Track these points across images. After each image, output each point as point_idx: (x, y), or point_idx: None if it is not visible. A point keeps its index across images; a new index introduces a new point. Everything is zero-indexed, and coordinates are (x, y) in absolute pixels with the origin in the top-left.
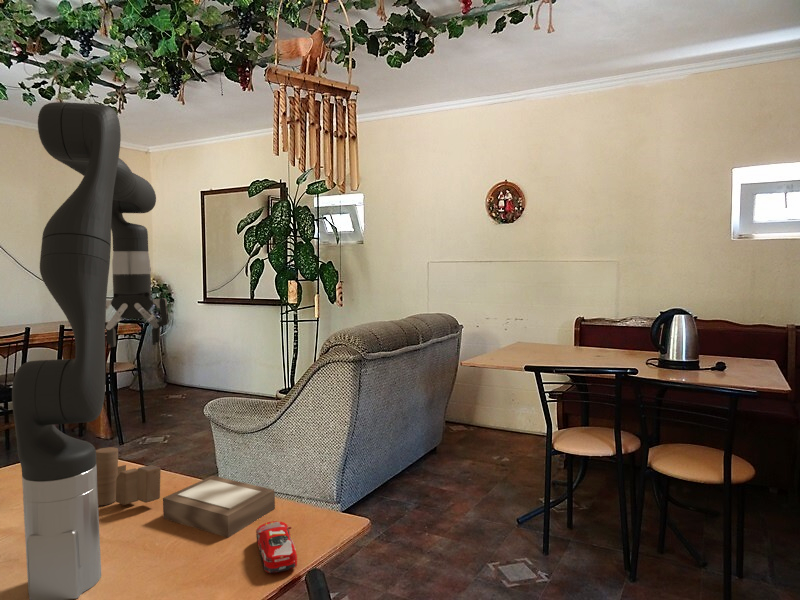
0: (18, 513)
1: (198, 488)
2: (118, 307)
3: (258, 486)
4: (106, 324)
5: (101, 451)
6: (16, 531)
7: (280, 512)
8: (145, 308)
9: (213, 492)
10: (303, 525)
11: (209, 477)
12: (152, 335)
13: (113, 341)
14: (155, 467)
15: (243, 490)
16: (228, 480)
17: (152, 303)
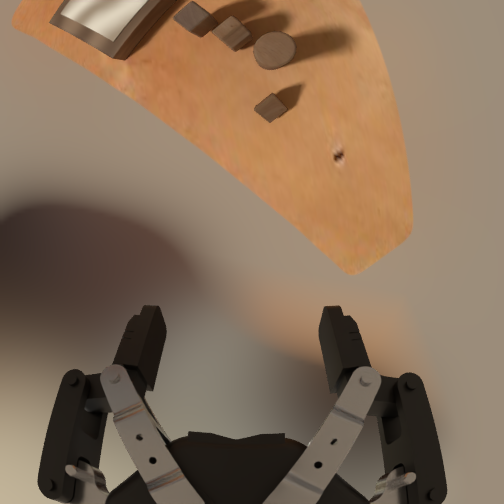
0: (374, 65)
1: (126, 12)
2: (327, 497)
3: (61, 28)
4: (378, 395)
5: (280, 37)
6: (357, 15)
7: None
8: (144, 481)
9: (108, 3)
10: (46, 2)
11: (116, 51)
12: (144, 338)
13: (330, 321)
14: (180, 15)
15: (76, 12)
16: (92, 42)
17: (105, 497)
